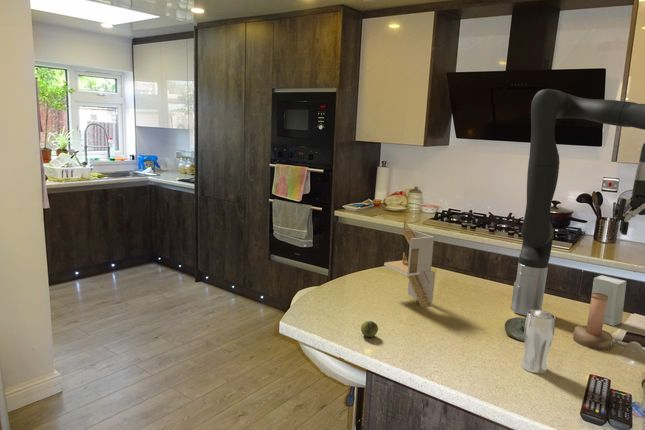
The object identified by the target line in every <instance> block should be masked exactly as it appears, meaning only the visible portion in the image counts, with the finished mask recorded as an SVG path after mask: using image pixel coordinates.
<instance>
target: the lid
mask: <svg viewBox="0 0 645 430" xmlns="http://www.w3.org/2000/svg"><path fill="white" fill-rule="evenodd" d="M525 322H526V317H522V316H521V317H520V316H518V317H511V318H509V319H507V320H506V321H505V323H504V331H505V333H506V335H507V336H509V337H510V338H512V339H514V340H516V341H519V342H520V341H521V342H524V328H525Z"/></svg>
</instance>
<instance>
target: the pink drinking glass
mask: <svg viewBox="0 0 645 430" xmlns="http://www.w3.org/2000/svg"><path fill="white" fill-rule="evenodd" d="M607 300H608V296H607V295H605V294H602V293H592V292H591V298H590V303H589V304H590V305H589V311H588V317H587V322H586V326H587V328H586V332H587V333H588V334H591V335H594V336H601V333H602V330H603V325H604V323H603V322H604V316H605V310H606V304H607Z"/></svg>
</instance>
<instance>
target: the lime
mask: <svg viewBox="0 0 645 430" xmlns="http://www.w3.org/2000/svg"><path fill="white" fill-rule="evenodd" d="M360 331H361V334H362V335H363V336H364V337H366V338H370V337H371V338H372V337H374V336H376V335H377V333H378V331H379V327H378V324H377V323H376V322H374V321H372V320H367V321H365V322H363V323H362V324H361V325H360Z"/></svg>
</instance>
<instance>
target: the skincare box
mask: <svg viewBox="0 0 645 430" xmlns="http://www.w3.org/2000/svg"><path fill="white" fill-rule="evenodd" d="M627 282H628V281H627V280H623V279H619V278H616V277H611V276H606V275H601V274H600V275H598V276H595V277H594V278H593V282H592V290H591V294H592V293H602V294H605V295H607V296H608V300H607V304H606V310H605V316H604V322H603V324H606V325H610V326H612V327H614V326H617V325H620V324H622V321H623V314H624V305H625V300H626V299H625V297H626V296H625V295H626V289H627Z"/></svg>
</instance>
